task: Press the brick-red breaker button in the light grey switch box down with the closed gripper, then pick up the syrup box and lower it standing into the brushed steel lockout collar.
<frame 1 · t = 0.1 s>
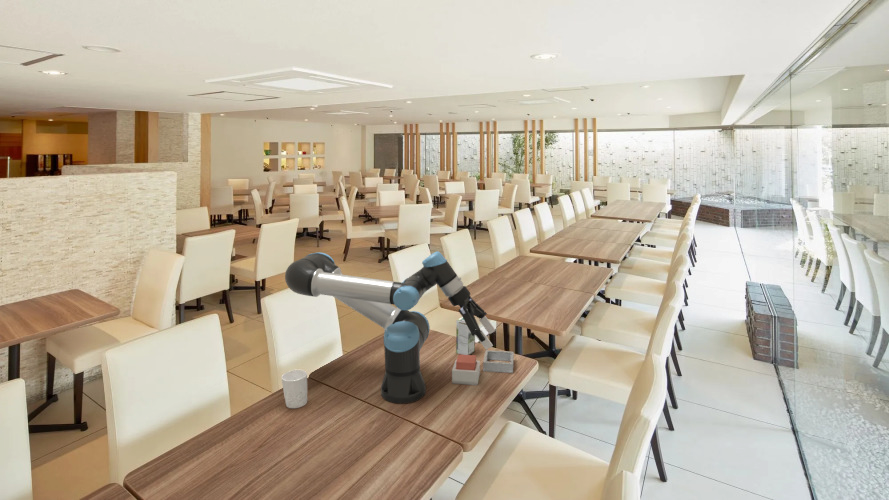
hand: (491, 339, 161), 15 cm above the table, tool tilted 35°, fingers open, 13 cm apart
syrup box: (465, 352, 187), on the table
breaker button: (466, 365, 164), point 5 cm above the table, slide at 0.0 cm
switch box: (466, 378, 165), on the table
lockout collar: (498, 365, 175), on the table
white cup: (296, 403, 150), on the table
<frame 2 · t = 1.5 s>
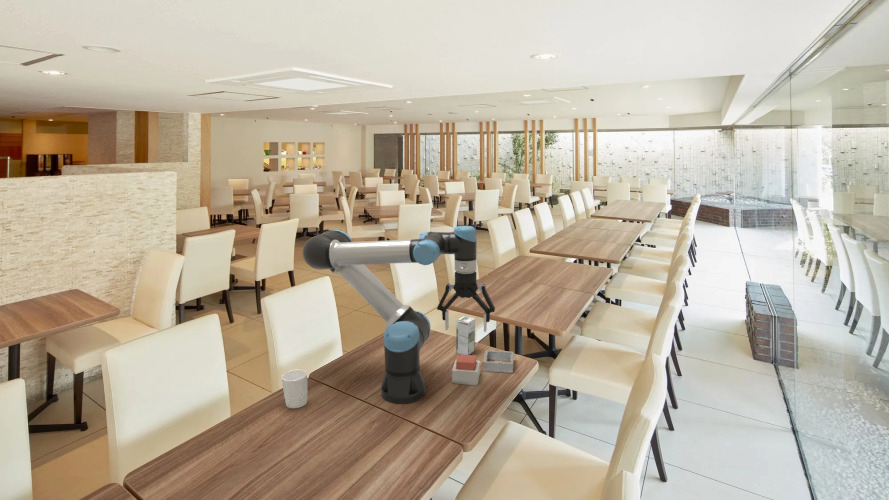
hand: (466, 329, 161), 19 cm above the table, tool pointing down, fingers open, 13 cm apart
nothing on the table moved.
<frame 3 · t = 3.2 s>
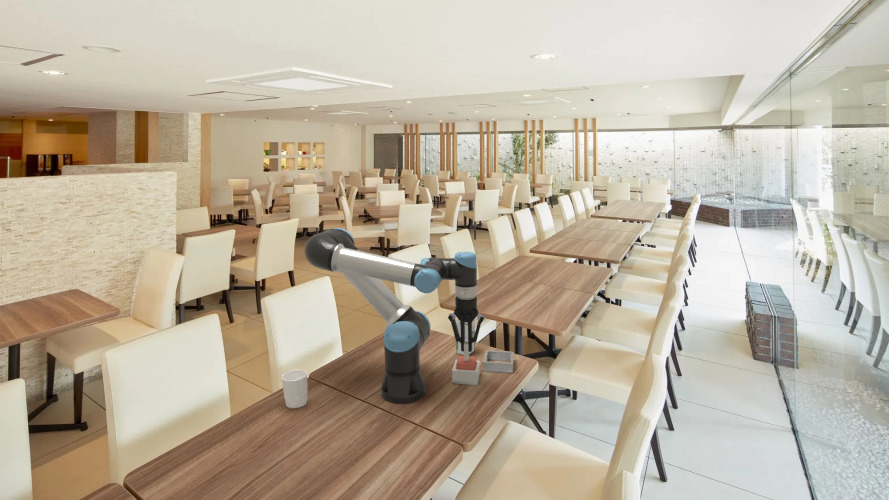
hand: (466, 359, 163), 7 cm above the table, tool pointing down, fingers closed
breaker button: (466, 366, 164), point 5 cm above the table, slide at 0.6 cm, touching gripper
everything else where it was.
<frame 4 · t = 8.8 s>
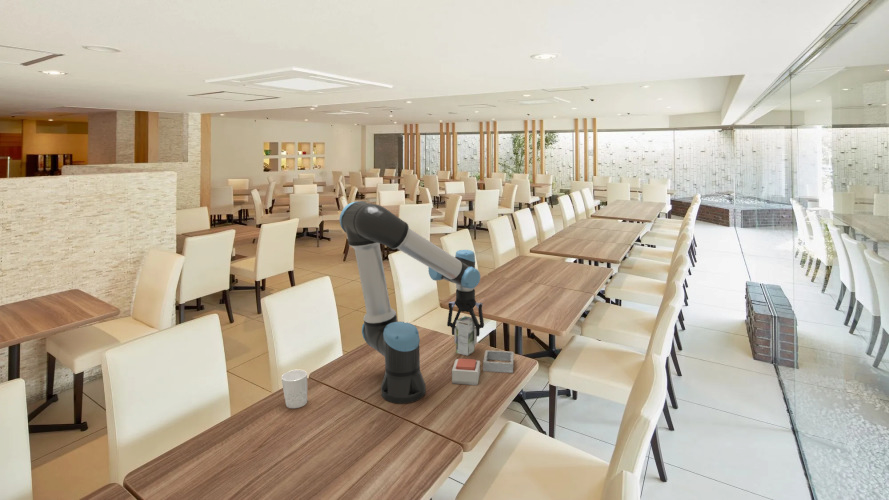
hand: (465, 342, 186), 4 cm above the table, tool pointing down, fingers closed on syrup box, 7 cm apart
syrup box: (465, 352, 187), on the table, touching gripper
breaker button: (466, 369, 164), point 3 cm above the table, slide at 1.6 cm, touching switch box
everything else where it was.
when the fingers open (6 cm above the table, at t = 13.7 s): syrup box drops 1 cm, resting in lockout collar.
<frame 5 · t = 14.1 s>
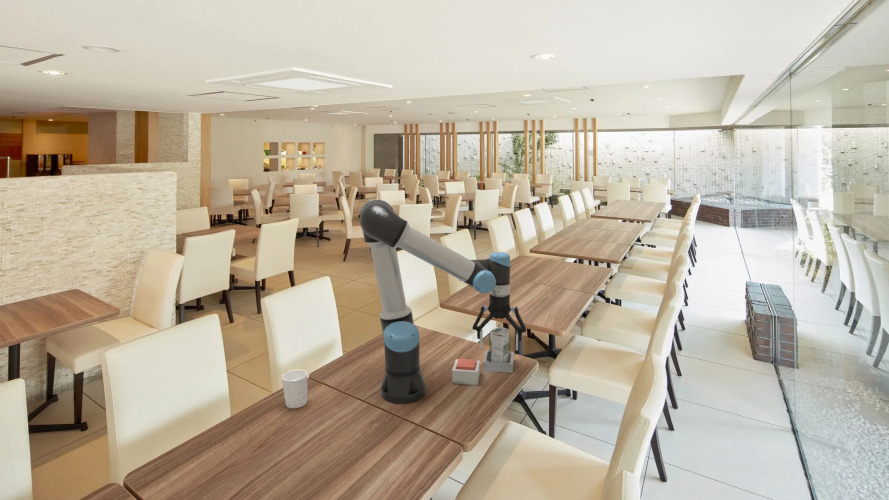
hand: (498, 348, 173), 7 cm above the table, tool pointing down, fingers open, 13 cm apart
syrup box: (499, 365, 175), resting in lockout collar
everything else where it was.
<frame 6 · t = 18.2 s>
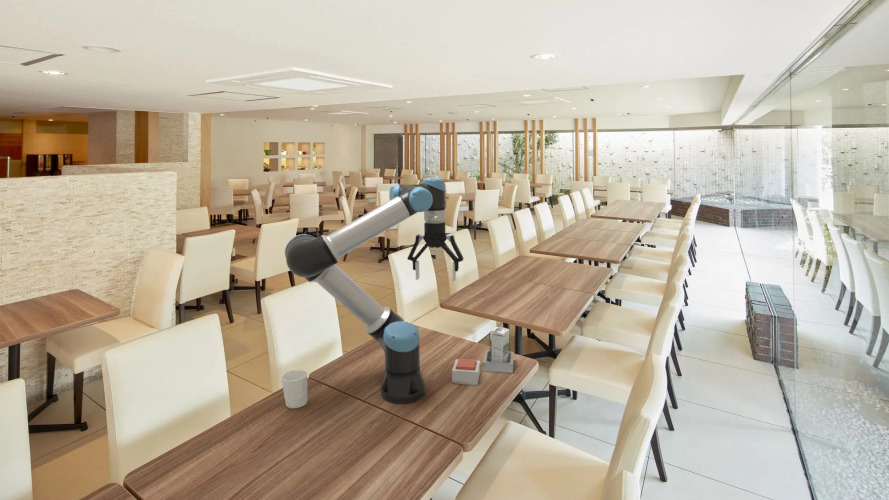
hand: (435, 279, 167), 35 cm above the table, tool pointing down, fingers open, 13 cm apart
nothing on the table moved.
at the end: breaker button slide at 1.6 cm; syrup box 0.1 cm off-centre on the lockout collar, point 0.0 cm above the lockout collar's base; syrup box tilted 0° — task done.
